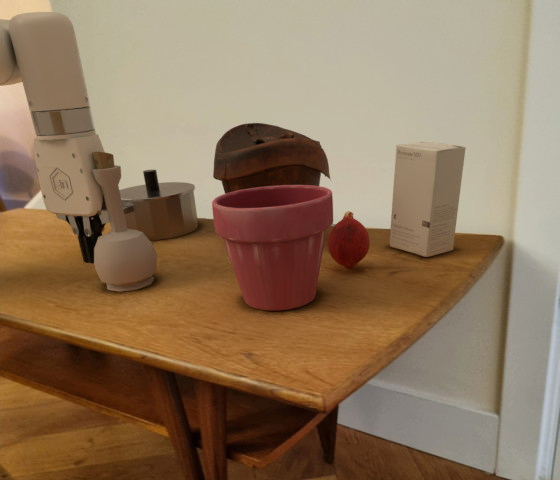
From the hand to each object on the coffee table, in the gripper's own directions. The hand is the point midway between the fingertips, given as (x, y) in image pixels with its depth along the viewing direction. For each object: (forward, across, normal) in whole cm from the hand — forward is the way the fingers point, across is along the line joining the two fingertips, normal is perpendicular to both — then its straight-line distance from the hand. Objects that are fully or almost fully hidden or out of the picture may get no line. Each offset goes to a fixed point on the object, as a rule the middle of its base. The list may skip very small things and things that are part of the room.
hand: (95, 260), depth 81 cm
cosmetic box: (+3, +41, +26) cm, 49 cm away
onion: (+3, +34, +14) cm, 37 cm away
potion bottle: (+3, +6, 0) cm, 7 cm away
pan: (+3, -10, +26) cm, 28 cm away
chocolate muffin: (+3, +16, +26) cm, 30 cm away
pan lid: (-4, -10, +26) cm, 28 cm away
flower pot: (+3, +30, +1) cm, 30 cm away
